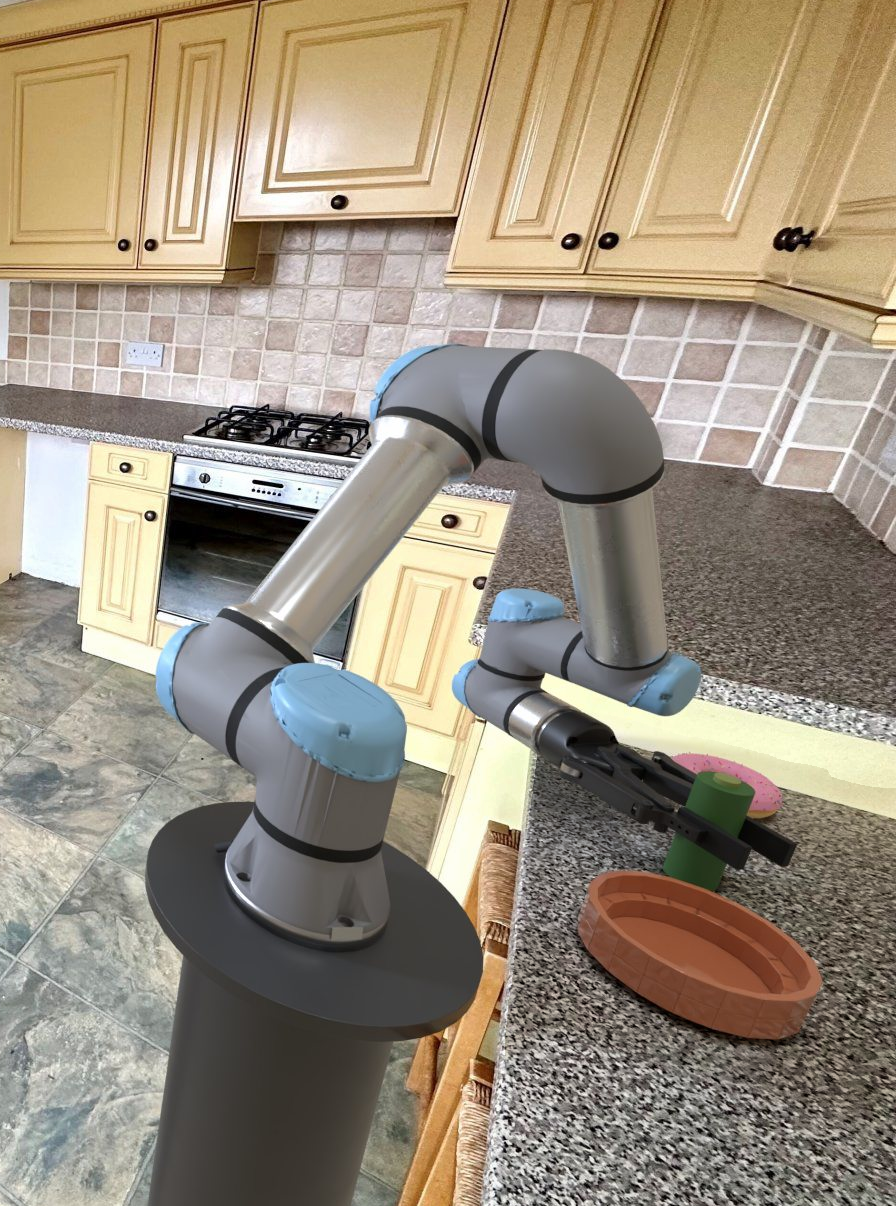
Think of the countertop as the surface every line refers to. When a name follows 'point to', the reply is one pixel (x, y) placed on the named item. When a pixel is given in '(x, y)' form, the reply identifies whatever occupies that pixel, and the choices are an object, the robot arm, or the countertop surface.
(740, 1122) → the countertop surface
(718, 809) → the battery
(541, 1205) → the countertop surface
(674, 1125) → the countertop surface
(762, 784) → the doughnut
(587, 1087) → the countertop surface
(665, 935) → the bowl
